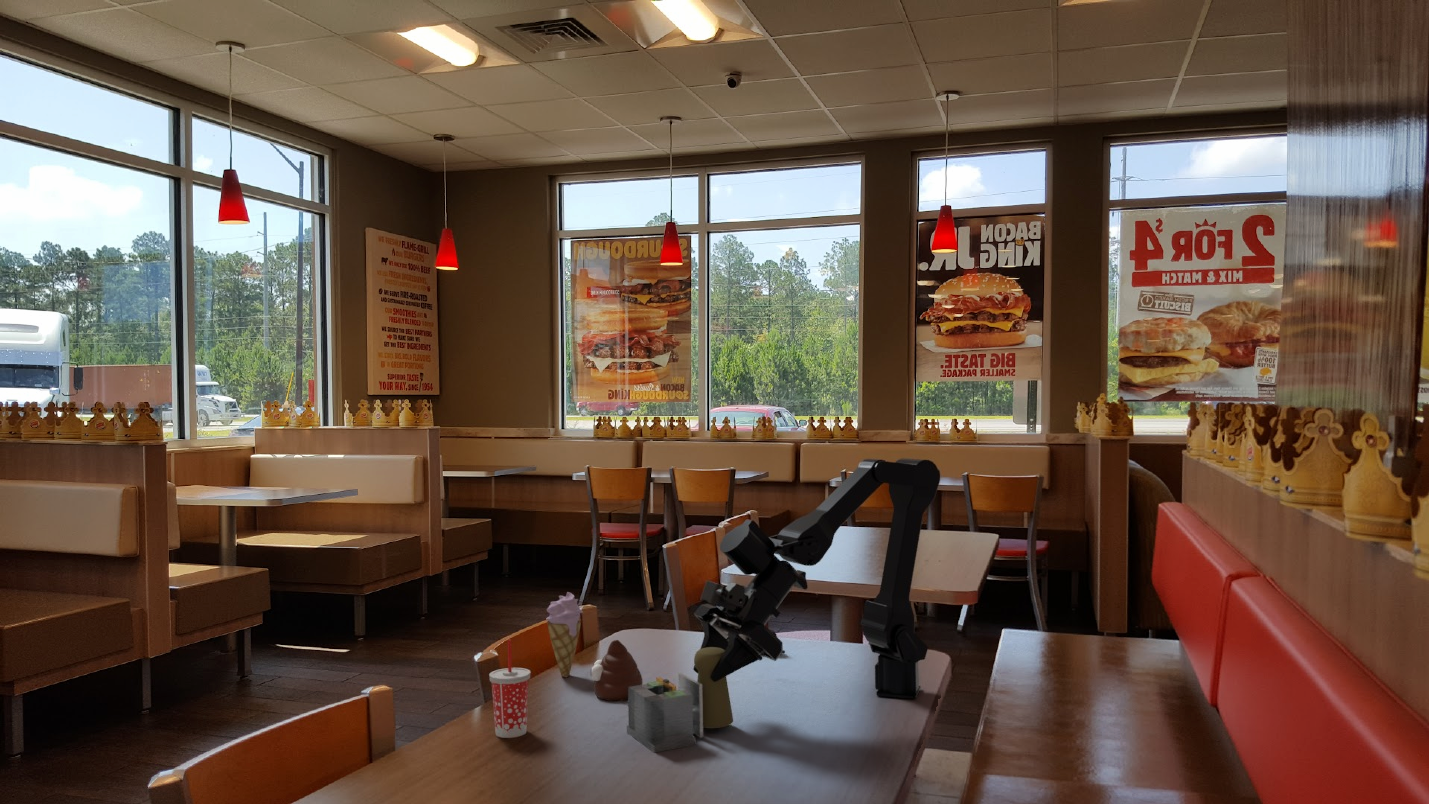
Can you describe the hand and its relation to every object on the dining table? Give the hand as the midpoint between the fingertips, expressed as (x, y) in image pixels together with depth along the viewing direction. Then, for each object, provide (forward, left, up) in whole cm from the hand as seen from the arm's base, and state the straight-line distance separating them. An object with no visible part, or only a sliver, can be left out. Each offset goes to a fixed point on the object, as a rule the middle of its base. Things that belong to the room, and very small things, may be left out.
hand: (703, 675), depth 149 cm
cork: (-1, -1, -7) cm, 7 cm away
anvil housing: (+4, +5, -8) cm, 10 cm away
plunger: (+3, +3, -8) cm, 9 cm away
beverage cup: (+27, +10, -8) cm, 30 cm away
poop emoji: (+21, -14, -8) cm, 26 cm away
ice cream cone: (+34, -20, -8) cm, 41 cm away
